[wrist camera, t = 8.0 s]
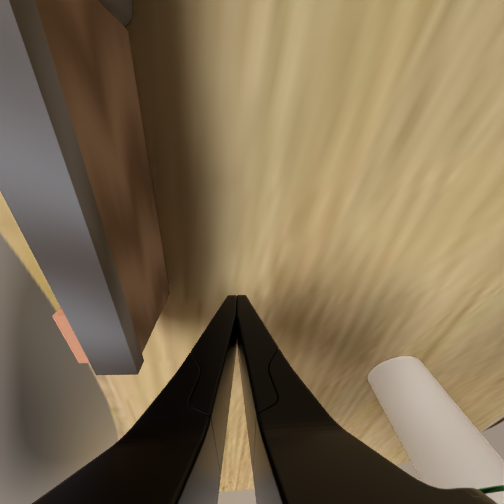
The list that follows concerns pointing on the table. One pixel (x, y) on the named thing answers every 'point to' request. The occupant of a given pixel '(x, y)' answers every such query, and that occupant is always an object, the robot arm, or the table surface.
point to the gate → (82, 173)
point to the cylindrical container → (435, 429)
